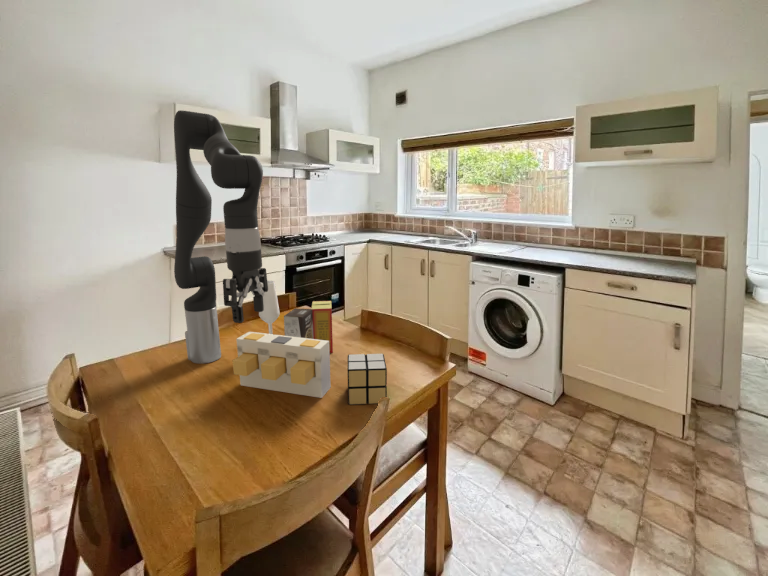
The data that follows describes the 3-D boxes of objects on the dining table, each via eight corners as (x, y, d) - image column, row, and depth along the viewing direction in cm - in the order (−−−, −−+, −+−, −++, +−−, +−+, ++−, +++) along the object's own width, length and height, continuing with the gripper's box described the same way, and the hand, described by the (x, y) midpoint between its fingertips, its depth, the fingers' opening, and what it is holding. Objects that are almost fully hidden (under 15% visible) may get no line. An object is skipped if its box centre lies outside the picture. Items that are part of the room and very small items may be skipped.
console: (240, 385, 117) (236, 337, 113) (252, 376, 122) (249, 330, 119) (321, 397, 110) (319, 347, 106) (330, 387, 116) (329, 339, 112)
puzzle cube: (348, 387, 116) (347, 354, 114) (383, 385, 117) (383, 353, 114) (348, 405, 106) (347, 369, 104) (386, 404, 107) (386, 368, 105)
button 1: (233, 374, 110) (232, 360, 109) (246, 365, 115) (245, 352, 114) (246, 376, 109) (245, 362, 108) (259, 367, 114) (258, 353, 113)
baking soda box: (332, 352, 139) (331, 307, 135) (313, 353, 139) (311, 308, 135) (332, 342, 148) (331, 299, 145) (314, 343, 148) (312, 300, 144)
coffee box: (304, 366, 129) (302, 317, 125) (285, 364, 130) (282, 315, 126) (315, 354, 138) (313, 308, 134) (297, 353, 139) (294, 307, 135)
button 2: (261, 378, 108) (260, 364, 107) (273, 369, 113) (272, 355, 112) (275, 380, 107) (274, 366, 106) (286, 371, 112) (285, 357, 111)
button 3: (291, 382, 105) (290, 368, 104) (301, 373, 111) (300, 359, 110) (305, 384, 104) (304, 370, 103) (315, 375, 110) (314, 361, 109)
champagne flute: (257, 353, 139) (252, 283, 133) (267, 345, 145) (263, 279, 139) (276, 354, 137) (271, 285, 131) (285, 347, 144) (281, 280, 138)
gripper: (246, 243, 100) (251, 307, 104) (208, 252, 87) (216, 325, 91) (274, 244, 98) (278, 309, 102) (239, 253, 85) (246, 328, 89)
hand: (249, 316), depth 96 cm, fingers open, 8 cm apart
